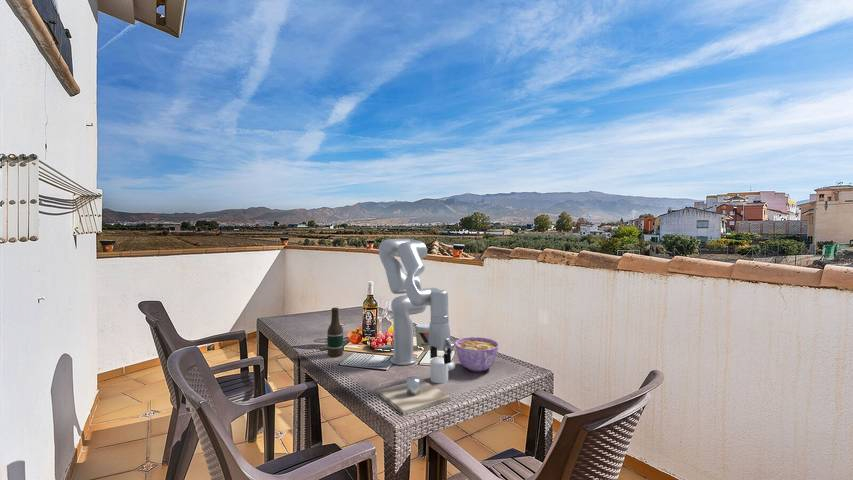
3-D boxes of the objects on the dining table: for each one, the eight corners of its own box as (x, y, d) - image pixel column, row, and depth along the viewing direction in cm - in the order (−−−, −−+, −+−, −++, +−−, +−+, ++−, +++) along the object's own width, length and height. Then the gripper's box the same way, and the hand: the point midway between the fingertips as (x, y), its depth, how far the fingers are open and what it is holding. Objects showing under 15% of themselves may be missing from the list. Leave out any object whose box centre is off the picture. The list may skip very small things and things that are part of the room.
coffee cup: (419, 351, 200) (419, 328, 199) (412, 346, 208) (412, 324, 208) (435, 348, 203) (435, 326, 203) (428, 343, 212) (428, 322, 211)
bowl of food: (498, 378, 163) (498, 351, 163) (452, 374, 167) (452, 348, 167) (499, 362, 183) (499, 338, 182) (457, 359, 187) (457, 335, 187)
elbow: (427, 378, 163) (427, 360, 163) (447, 373, 169) (447, 355, 169) (437, 384, 157) (437, 365, 157) (458, 378, 163) (458, 360, 163)
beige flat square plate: (377, 394, 148) (377, 376, 148) (420, 382, 159) (420, 365, 159) (404, 415, 131) (404, 395, 131) (450, 400, 143) (450, 381, 142)
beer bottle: (346, 354, 195) (346, 307, 194) (335, 358, 188) (334, 310, 187) (335, 351, 199) (335, 305, 198) (324, 355, 192) (323, 308, 191)
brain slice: (361, 346, 208) (361, 341, 208) (387, 341, 218) (387, 335, 218) (379, 356, 193) (379, 350, 192) (407, 349, 203) (407, 344, 203)
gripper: (420, 317, 166) (421, 356, 166) (444, 324, 152) (445, 367, 152) (435, 315, 170) (435, 353, 170) (459, 321, 156) (460, 363, 156)
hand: (440, 360), depth 161 cm, fingers open, 9 cm apart
